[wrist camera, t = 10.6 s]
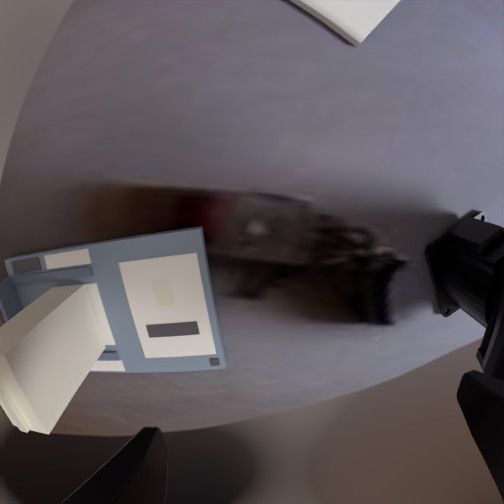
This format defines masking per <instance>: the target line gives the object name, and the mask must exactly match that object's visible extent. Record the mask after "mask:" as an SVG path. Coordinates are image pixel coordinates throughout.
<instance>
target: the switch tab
mask: <svg viewBox="0 0 504 504" xmlns="http://www.w3.org/2000/svg"><path fill="white" fill-rule="evenodd" d="M105 348H106V347H105V345H104V342H103V339H102V336H101V333H100V331H99V328H98V325H97V322H96V319H95V316H94V313H93V309H92V306H91V303H90V300H89V296H88V293H87V289H86V286H85V284H80V285H70V286H60V287H52V288H51V289H50V290H48V291H47V292H46V293H44V294H43V295H41V296H40V297H39V298H37V299H36V300H35V301H33V302H32V303H31V304H29V305H28V306H27V307H26V308H24V309H23V310H22V311H20V312H19V313H18V314H16V315H15V316H14V317H13V318H11V319H10V320H9V321H8V322H6V323H5V324H4V325H3V326H1V327H0V405H1V406H2V408H3V410H4V411H5V413H6V414H7V416H8V417H9V419H10V420H11V422H12V423H13V425H15V426H18V428H19V429H20V431H23V432H28V431H29V430H33V431H36V432H40V433H45V434H50V432H51V431H52V429H53V427H54V426H55V424H56V422H57V421H58V419H59V418H60V416H61V414H62V413H63V411H64V410H65V408H66V406H67V405H68V403H69V402H70V400H71V399H72V397H73V396H74V394H75V392H76V391H77V389H78V388H79V386H80V385H81V383H82V382H83V380H84V379H85V377H86V376H87V374H88V373H89V371H90V370H91V368H92V367H93V365H94V364H95V362H96V361H97V359H98V358H99V356H100V355H101V353H102V352H103V351H104V349H105Z"/></svg>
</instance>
